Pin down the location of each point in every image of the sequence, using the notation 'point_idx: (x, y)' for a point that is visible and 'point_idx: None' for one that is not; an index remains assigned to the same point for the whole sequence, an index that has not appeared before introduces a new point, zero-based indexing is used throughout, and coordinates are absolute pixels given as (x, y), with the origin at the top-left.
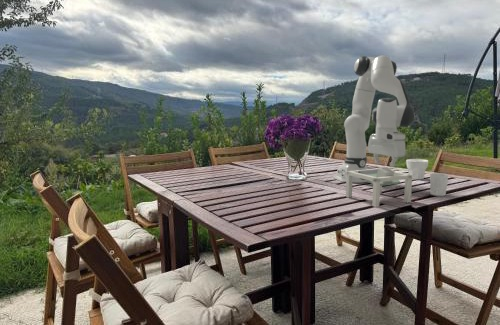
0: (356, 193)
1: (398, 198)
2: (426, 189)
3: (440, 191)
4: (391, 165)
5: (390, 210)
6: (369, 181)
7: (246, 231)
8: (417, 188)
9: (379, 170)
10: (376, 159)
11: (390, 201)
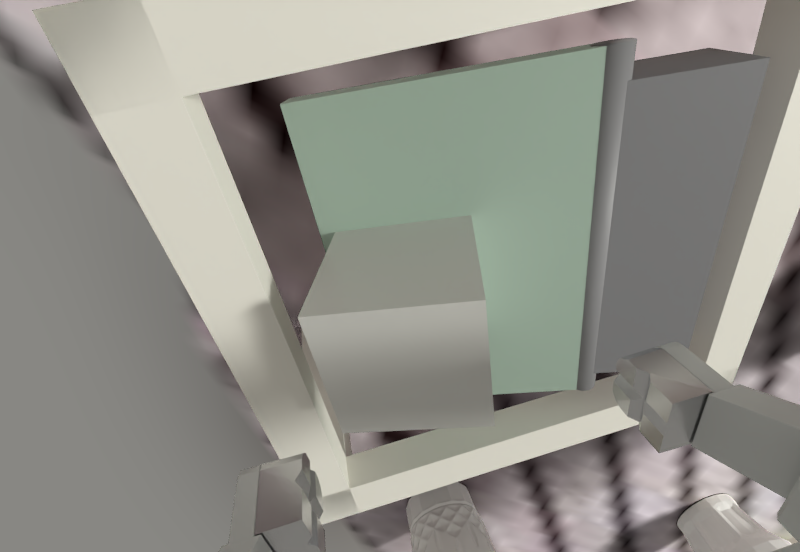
0: None
1: None
2: (534, 490)
3: (413, 521)
4: (248, 482)
5: (56, 103)
6: (412, 76)
7: None
8: (567, 468)
9: (449, 286)
10: (717, 410)
11: None
